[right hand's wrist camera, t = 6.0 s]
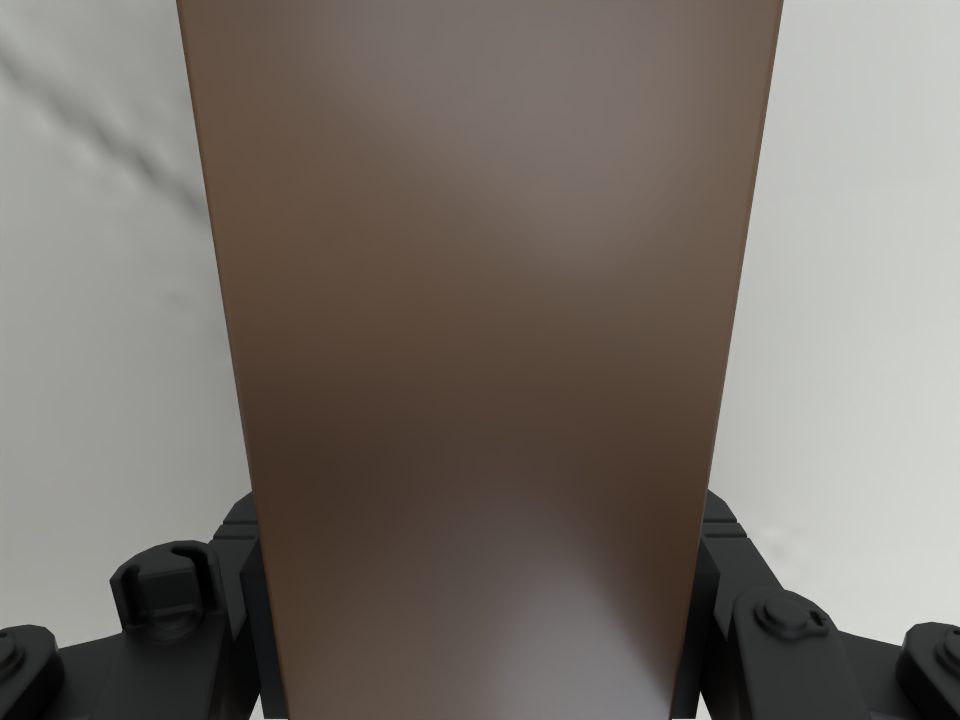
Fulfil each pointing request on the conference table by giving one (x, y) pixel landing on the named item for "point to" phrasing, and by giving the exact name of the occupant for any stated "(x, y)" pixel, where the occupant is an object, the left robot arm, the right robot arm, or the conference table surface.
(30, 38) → the conference table surface
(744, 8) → the beam
